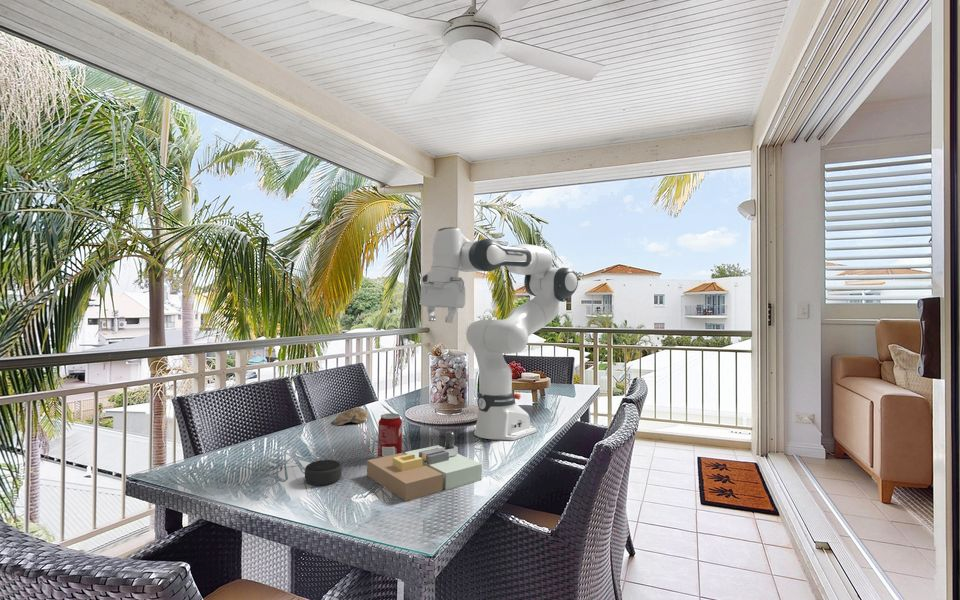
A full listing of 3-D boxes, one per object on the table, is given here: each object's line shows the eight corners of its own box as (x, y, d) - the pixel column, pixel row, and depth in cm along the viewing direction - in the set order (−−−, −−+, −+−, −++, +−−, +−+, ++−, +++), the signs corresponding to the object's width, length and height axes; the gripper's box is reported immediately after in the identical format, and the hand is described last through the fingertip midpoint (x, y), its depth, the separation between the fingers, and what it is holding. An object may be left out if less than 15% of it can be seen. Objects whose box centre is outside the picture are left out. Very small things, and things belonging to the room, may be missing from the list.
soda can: (396, 461, 137) (397, 419, 137) (374, 459, 139) (374, 417, 139) (405, 454, 144) (405, 413, 144) (383, 452, 145) (384, 412, 145)
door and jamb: (437, 459, 140) (438, 438, 140) (481, 479, 124) (481, 456, 124) (366, 475, 126) (367, 452, 126) (405, 501, 111) (406, 474, 111)
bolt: (453, 452, 132) (453, 430, 132) (458, 454, 131) (458, 432, 131) (421, 459, 126) (421, 436, 126) (426, 462, 124) (426, 438, 124)
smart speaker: (348, 476, 126) (348, 460, 126) (329, 489, 118) (329, 472, 118) (317, 472, 128) (318, 457, 128) (297, 485, 120) (297, 468, 120)
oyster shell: (332, 420, 183) (332, 407, 183) (366, 418, 187) (366, 405, 187) (333, 427, 174) (334, 413, 174) (369, 424, 178) (369, 410, 178)
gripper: (472, 278, 147) (468, 324, 146) (434, 280, 163) (430, 321, 162) (455, 275, 143) (451, 322, 142) (418, 277, 159) (414, 319, 158)
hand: (439, 322), depth 152 cm, fingers open, 8 cm apart
